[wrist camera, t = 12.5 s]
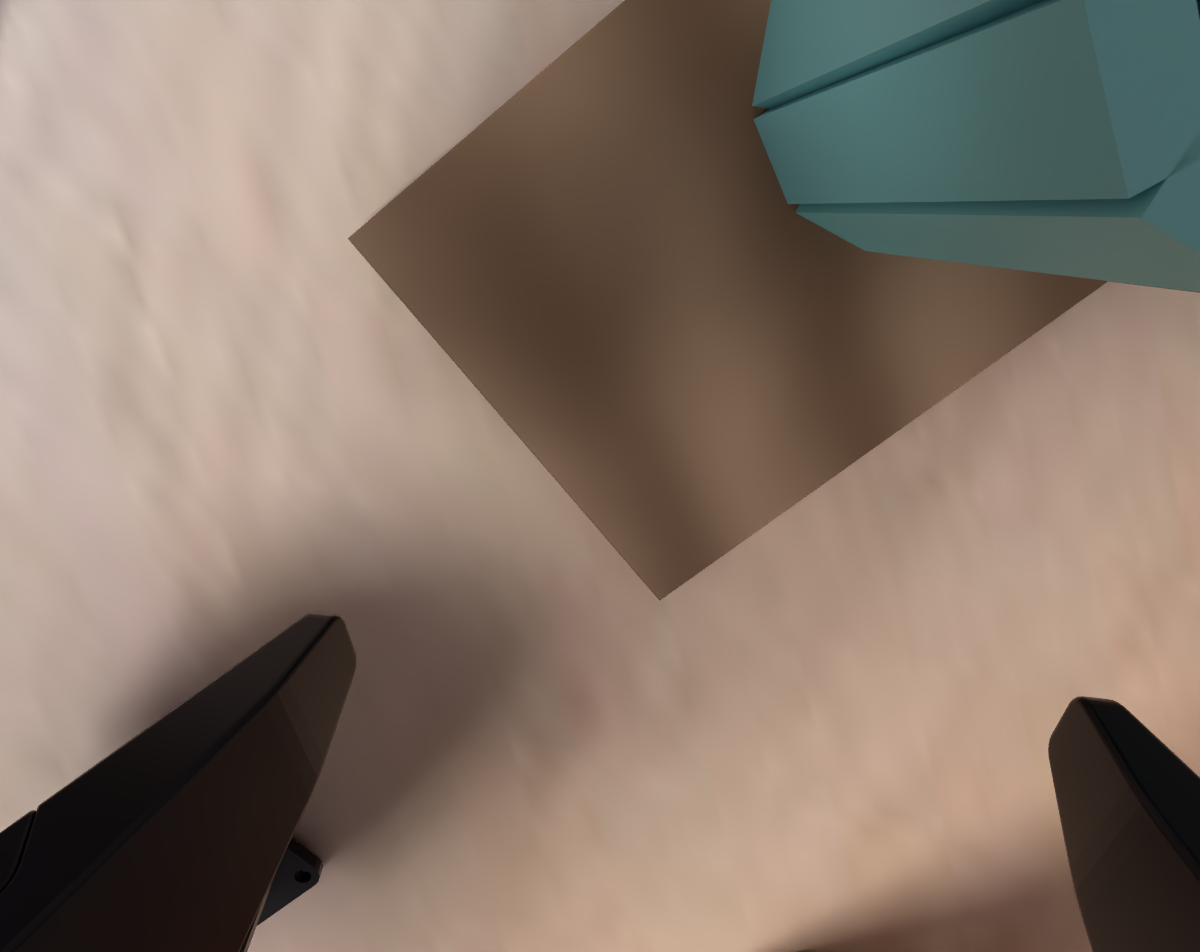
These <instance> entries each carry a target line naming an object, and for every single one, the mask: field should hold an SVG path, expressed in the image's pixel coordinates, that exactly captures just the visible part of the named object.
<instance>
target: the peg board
mask: <svg viewBox="0 0 1200 952" xmlns="http://www.w3.org/2000/svg"><path fill="white" fill-rule="evenodd" d="M771 1H772V0H625V1H624V2H623V3H622V4H620V5H619V6H618V7H617V8H616V9H615V10H613V11H612V12H611V13H610V14H609V15H608V16H606V17H605V18H604V19H603V20H602V21H601V22H599V23H598V24H597V25H596V26H595V27H594V28H592V29H591V30H590V31H589V32H588V33H587V34H585V35H584V36H583V37H582V38H581V39H580V40H578V41H577V42H576V43H575V44H574V45H573V46H571V47H570V48H569V49H568V50H567V51H566V52H564V53H563V54H562V55H561V56H560V57H559V58H557V59H556V60H555V61H554V62H553V63H552V64H551V65H549V66H548V67H547V68H546V69H545V70H544V71H542V72H541V73H540V74H539V75H538V76H537V77H535V78H534V79H533V80H532V81H531V82H530V83H528V84H527V85H526V86H525V87H524V88H523V89H521V90H520V91H519V92H518V93H517V94H516V95H514V96H513V97H512V98H511V99H510V100H509V101H507V102H506V103H505V104H504V105H503V106H502V107H500V108H499V109H498V110H497V111H496V112H495V113H493V114H492V115H491V116H490V117H489V118H488V119H486V120H485V121H484V122H483V123H482V124H481V125H480V126H478V127H477V128H476V129H475V130H474V131H473V132H471V133H470V134H469V135H468V136H467V137H466V138H464V139H463V140H462V141H461V142H460V143H459V144H457V145H456V146H455V147H454V148H453V149H452V150H450V151H449V152H448V153H447V154H446V155H445V156H443V157H442V158H441V159H440V160H439V161H438V162H436V163H435V164H434V165H433V166H432V167H431V168H429V169H428V170H427V171H426V172H425V173H424V174H422V175H421V176H420V177H419V178H418V179H417V180H415V181H414V182H413V183H412V184H411V185H410V186H408V187H407V188H406V189H405V190H404V191H403V192H402V193H400V194H399V195H398V196H397V197H396V198H395V199H393V200H392V201H391V202H390V203H389V204H388V205H386V206H385V207H384V208H383V209H382V210H381V211H379V212H378V213H377V214H376V215H375V216H374V217H372V218H371V219H370V220H369V221H368V222H367V223H365V224H364V225H363V226H362V227H361V228H360V229H358V230H357V231H356V232H355V233H354V234H353V235H351V236H350V237H349V238H348V239H349V240H350V242H351V243H352V244H353V245H354V246H355V247H356V249H357V250H358V251H359V252H360V253H361V254H362V256H363V257H364V258H365V259H366V260H367V261H368V262H369V264H370V265H371V266H372V267H373V268H374V269H375V271H376V272H377V273H378V274H379V275H380V276H381V278H382V279H383V280H384V281H385V282H386V283H387V285H388V286H389V287H390V288H391V289H392V290H393V292H394V293H395V294H396V295H397V296H398V297H399V298H400V300H401V301H402V302H403V303H404V304H405V305H406V307H407V308H408V309H409V310H410V311H411V312H412V314H413V315H414V316H415V317H416V318H417V319H418V321H419V322H420V323H421V324H422V325H423V326H424V328H425V329H426V330H427V331H428V332H429V333H430V334H431V336H432V337H433V338H434V339H435V340H436V341H437V343H438V344H439V345H440V346H441V347H442V348H443V350H444V351H445V352H446V353H447V354H448V355H449V357H450V358H451V359H452V360H453V361H454V362H455V364H456V365H457V366H458V367H459V368H460V369H461V370H462V372H463V373H464V374H465V375H466V376H467V377H468V379H469V380H470V381H471V382H472V383H473V384H474V386H475V387H476V388H477V389H478V390H479V391H480V393H481V394H482V395H483V396H484V397H485V398H486V400H487V401H488V402H489V403H490V404H491V405H492V406H493V408H494V409H495V410H496V411H497V412H498V413H499V415H500V416H501V417H502V418H503V419H504V420H505V422H506V423H507V424H508V425H509V426H510V427H511V429H512V430H513V431H514V432H515V433H516V434H517V436H518V437H519V438H520V439H521V440H522V441H523V442H524V444H525V445H526V446H527V447H528V448H529V449H530V451H531V452H532V453H533V454H534V455H535V456H536V458H537V459H538V460H539V461H540V462H541V463H542V465H543V466H544V467H545V468H546V469H547V470H548V472H549V473H550V474H551V475H552V476H553V477H554V478H555V480H556V481H557V482H558V483H559V484H560V485H561V487H562V488H563V489H564V490H565V491H566V492H567V494H568V495H569V496H570V497H571V498H572V499H573V501H574V502H575V503H576V504H577V505H578V506H579V508H580V509H581V510H582V511H583V512H584V513H585V514H586V516H587V517H588V518H589V519H590V520H591V521H592V523H593V524H594V525H595V526H596V527H597V528H598V530H599V531H600V532H601V533H602V534H603V535H604V537H605V538H606V539H607V540H608V541H609V542H610V544H611V545H612V546H613V547H614V548H615V549H616V551H617V552H618V553H619V554H620V555H621V556H622V557H623V559H624V560H625V561H626V562H627V563H628V564H629V566H630V567H631V568H632V569H633V570H634V571H635V573H636V574H637V575H638V576H639V577H640V578H641V580H642V581H643V582H644V583H645V584H646V585H647V587H648V588H649V589H650V590H651V591H652V592H653V593H654V595H655V596H656V597H657V598H658V599H659V600H661V599H662V598H664V597H665V596H667V595H668V594H670V593H671V592H672V591H674V590H675V589H677V588H678V587H679V586H681V585H682V584H684V583H685V582H686V581H688V580H689V579H691V578H692V577H693V576H695V575H696V574H698V573H699V572H700V571H702V570H703V569H705V568H706V567H707V566H709V565H710V564H712V563H713V562H714V561H716V560H717V559H719V558H720V557H721V556H723V555H724V554H726V553H727V552H728V551H730V550H731V549H733V548H734V547H735V546H737V545H738V544H740V543H741V542H743V541H744V540H745V539H747V538H748V537H750V536H751V535H752V534H754V533H755V532H757V531H758V530H759V529H761V528H762V527H764V526H765V525H766V524H768V523H769V522H771V521H772V520H773V519H775V518H776V517H778V516H779V515H780V514H782V513H783V512H785V511H786V510H787V509H789V508H790V507H792V506H793V505H794V504H796V503H797V502H799V501H800V500H801V499H803V498H804V497H806V496H807V495H809V494H810V493H811V492H813V491H814V490H816V489H817V488H818V487H820V486H821V485H823V484H824V483H825V482H827V481H828V480H830V479H831V478H832V477H834V476H835V475H837V474H838V473H839V472H841V471H842V470H844V469H845V468H846V467H848V466H849V465H851V464H852V463H853V462H855V461H856V460H858V459H859V458H860V457H862V456H863V455H865V454H866V453H867V452H869V451H870V450H872V449H873V448H875V447H876V446H877V445H879V444H880V443H882V442H883V441H884V440H886V439H887V438H889V437H890V436H891V435H893V434H894V433H896V432H897V431H898V430H900V429H901V428H903V427H904V426H905V425H907V424H908V423H910V422H911V421H912V420H914V419H915V418H917V417H918V416H919V415H921V414H922V413H924V412H925V411H926V410H928V409H929V408H931V407H932V406H933V405H935V404H936V403H938V402H939V401H941V400H942V399H943V398H945V397H946V396H948V395H949V394H950V393H952V392H953V391H955V390H956V389H957V388H959V387H960V386H962V385H963V384H964V383H966V382H967V381H969V380H970V379H971V378H973V377H974V376H976V375H977V374H978V373H980V372H981V371H983V370H984V369H985V368H987V367H988V366H990V365H991V364H992V363H994V362H995V361H997V360H998V359H999V358H1001V357H1002V356H1004V355H1005V354H1007V353H1008V352H1009V351H1011V350H1012V349H1014V348H1015V347H1016V346H1018V345H1019V344H1021V343H1022V342H1023V341H1025V340H1026V339H1028V338H1029V337H1030V336H1032V335H1033V334H1035V333H1036V332H1037V331H1039V330H1040V329H1042V328H1043V327H1044V326H1046V325H1047V324H1049V323H1050V322H1051V321H1053V320H1054V319H1056V318H1057V317H1058V316H1060V315H1061V314H1063V313H1064V312H1065V311H1067V310H1068V309H1070V308H1071V307H1073V306H1074V305H1075V304H1077V303H1078V302H1080V301H1081V300H1082V299H1084V298H1085V297H1087V296H1088V295H1089V294H1091V293H1092V292H1094V291H1095V290H1096V289H1098V288H1099V287H1101V286H1102V285H1103V284H1105V283H1106V282H1108V281H1102V280H1094V279H1086V278H1078V277H1070V276H1062V275H1054V274H1046V273H1038V272H1030V271H1022V270H1014V269H1006V268H998V267H990V266H982V265H974V264H965V263H957V262H949V261H941V260H933V259H925V258H917V257H909V256H901V255H893V254H885V253H877V252H870V251H864V250H863V249H861V248H859V247H857V246H855V245H853V244H852V243H850V242H848V241H846V240H844V239H843V238H841V237H839V236H837V235H835V234H833V233H832V232H830V231H828V230H826V229H824V228H823V227H821V226H819V225H817V224H815V223H813V222H812V221H810V220H808V219H806V218H804V217H803V216H801V215H799V214H797V213H795V212H796V210H797V208H798V206H799V204H788V203H787V201H786V198H785V196H784V193H783V191H782V188H781V186H780V184H779V181H778V179H777V176H776V174H775V171H774V169H773V166H772V164H771V161H770V159H769V157H768V154H767V152H766V149H765V147H764V144H763V142H762V139H761V137H760V134H759V132H758V129H757V127H756V125H755V122H754V120H753V119H754V118H756V117H758V116H759V115H761V114H763V113H765V112H766V111H768V110H770V109H767V108H761V107H755V106H752V103H753V98H754V92H755V87H756V81H757V76H758V70H759V65H760V59H761V54H762V48H763V43H764V37H765V32H766V26H767V21H768V15H769V10H770V4H771Z"/></svg>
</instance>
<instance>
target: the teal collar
mask: <svg viewBox="0 0 1200 952" xmlns="http://www.w3.org/2000/svg"><path fill="white" fill-rule="evenodd" d="M752 106H755V107H761V108H767V109H770V110H768V111H766V112H765V113H763V114H761V115H759V116H758V117H756V118H754V119H753V120H754V122H755V125H756V127H757V129H758V132H759V134H760V137H761V139H762V142H763V144H764V147H765V149H766V152H767V154H768V157H769V159H770V161H771V164H772V166H773V169H774V171H775V174H776V176H777V179H778V181H779V184H780V186H781V188H782V191H783V193H784V196H785V198H786V201H787V203H788V204H799V206H798V208H797V210H796V212H795V213H797V214H799V215H801V216H803V217H804V218H806V219H808V220H810V221H812V222H813V223H815V224H817V225H819V226H821V227H823V228H824V229H826V230H828V231H830V232H832V233H833V234H835V235H837V236H839V237H841V238H843V239H844V240H846V241H848V242H850V243H852V244H853V245H855V246H857V247H859V248H861V249H863V250H864V251H870V252H877V253H885V254H893V255H901V256H909V257H917V258H925V259H933V260H941V261H949V262H957V263H965V264H974V265H982V266H990V267H998V268H1006V269H1014V270H1022V271H1030V272H1038V273H1046V274H1054V275H1062V276H1070V277H1078V278H1086V279H1094V280H1102V281H1110V282H1118V283H1126V284H1135V285H1143V286H1151V287H1159V288H1167V289H1175V290H1183V291H1191V292H1199V293H1200V0H772V1H771V4H770V10H769V15H768V21H767V26H766V32H765V37H764V43H763V48H762V54H761V59H760V65H759V70H758V76H757V81H756V87H755V92H754V98H753V103H752Z"/></svg>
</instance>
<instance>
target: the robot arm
mask: <svg viewBox="0 0 1200 952" xmlns="http://www.w3.org/2000/svg"><path fill="white" fill-rule="evenodd" d="M355 668H356V654H355V651H354V648H353V645H352V642H351V639H350V636H349V633H348V631H347V628H346V625H345V622H344V620H343V619H342V618H341V617H340V616H339V615H336V614H327V613H318V612H314V613H310V614H307V615H305V616H304V617H302V618H301V619H299V620H298V621H297V622H295V623H294V624H292V625H291V626H290V627H288V628H287V629H285V630H284V631H283V632H281V633H280V634H278V635H277V636H276V637H274V638H273V639H271V640H270V641H269V642H267V643H266V644H264V645H263V646H262V647H260V648H259V649H257V650H256V651H255V652H253V653H252V654H250V655H249V656H248V657H246V658H245V659H243V660H242V661H241V662H239V663H238V664H236V665H235V666H234V667H232V668H231V669H229V670H228V671H227V672H225V673H224V674H222V675H221V676H219V677H218V678H217V679H215V680H214V681H212V682H211V683H210V684H208V685H207V686H205V687H204V688H203V689H201V690H200V691H198V692H197V693H196V694H194V695H193V696H191V697H190V698H189V699H187V700H186V701H184V702H183V703H182V704H180V705H179V706H177V707H176V708H175V709H173V710H172V711H170V712H169V713H168V714H166V715H165V716H163V717H162V718H161V719H159V720H158V721H156V722H155V723H154V724H152V725H151V726H149V727H148V728H147V729H145V730H144V731H142V732H141V733H140V734H138V735H137V736H135V737H134V738H133V739H131V740H130V741H128V742H127V743H126V744H124V745H123V746H121V747H120V748H119V749H117V750H116V751H114V752H113V753H112V754H110V755H109V756H107V757H106V758H105V759H103V760H102V761H100V762H99V763H97V764H96V765H95V766H93V767H92V768H90V769H89V770H88V771H86V772H85V773H83V774H82V775H81V776H79V777H78V778H76V779H75V780H74V781H72V782H71V783H69V784H68V785H67V786H65V787H64V788H62V789H61V790H60V791H58V792H57V793H55V794H54V795H53V796H51V797H50V798H48V799H47V800H46V801H44V802H43V803H41V804H40V805H39V806H38V808H37V811H35V810H33V811H30V812H28V813H27V814H26V815H24V816H23V817H21V818H20V819H19V820H17V821H16V822H14V823H13V824H12V825H10V826H9V827H7V828H6V829H5V830H3V831H2V832H0V952H247V950H248V948H249V945H250V942H251V939H252V937H253V934H254V931H255V929H256V926H257V925H259V924H260V923H262V922H263V921H264V920H266V919H267V918H269V917H270V916H272V915H273V914H274V913H276V912H277V911H279V910H280V909H282V908H283V907H284V906H286V905H287V904H289V903H290V902H291V901H293V900H294V899H296V898H297V897H299V896H300V895H301V894H303V893H304V892H306V891H307V890H309V889H310V888H311V887H313V886H314V885H315V884H316V883H317V882H318V881H319V877H320V874H321V871H322V867H323V864H322V861H321V860H320V859H319V858H318V857H317V856H316V855H314V854H313V853H312V852H310V851H309V850H308V849H306V848H305V847H304V846H302V845H301V844H300V843H298V842H297V841H296V840H294V839H293V838H292V836H293V833H294V831H295V829H296V827H297V825H298V822H299V820H300V818H301V816H302V814H303V812H304V809H305V807H306V805H307V803H308V801H309V799H310V796H311V794H312V792H313V789H314V787H315V785H316V782H317V780H318V778H319V775H320V772H321V770H322V767H323V764H324V761H325V758H326V756H327V753H328V750H329V747H330V744H331V741H332V738H333V735H334V732H335V729H336V726H337V723H338V720H339V717H340V714H341V711H342V708H343V705H344V702H345V699H346V697H347V694H348V691H349V688H350V685H351V682H352V679H353V676H354V673H355ZM1048 753H1049V761H1050V766H1051V772H1052V777H1053V782H1054V788H1055V793H1056V798H1057V803H1058V809H1059V814H1060V819H1061V825H1062V830H1063V835H1064V841H1065V846H1066V851H1067V856H1068V862H1069V867H1070V872H1071V876H1072V881H1073V885H1074V890H1075V894H1076V897H1077V901H1078V904H1079V908H1080V912H1081V915H1082V918H1083V922H1084V925H1085V928H1086V931H1087V935H1088V938H1089V941H1090V945H1091V948H1092V951H1093V952H1200V777H1199V776H1198V775H1197V774H1195V773H1194V772H1193V771H1192V770H1191V769H1190V768H1189V767H1188V766H1187V765H1186V764H1185V763H1184V762H1183V761H1182V760H1181V759H1179V758H1178V757H1177V756H1176V755H1175V754H1174V753H1173V752H1172V751H1171V750H1170V749H1169V748H1168V747H1167V746H1166V745H1164V744H1163V743H1162V742H1161V741H1160V740H1159V739H1158V738H1157V737H1156V736H1155V735H1154V734H1153V733H1152V732H1151V731H1150V730H1148V729H1147V728H1146V727H1145V726H1144V725H1143V724H1142V723H1141V722H1140V721H1139V720H1138V719H1137V718H1136V717H1135V716H1134V715H1132V714H1131V713H1130V712H1129V711H1128V710H1127V709H1126V708H1125V707H1124V706H1122V705H1121V704H1119V703H1118V702H1116V701H1114V700H1109V699H1102V698H1093V697H1083V696H1081V697H1077V698H1075V699H1073V700H1072V701H1071V702H1070V703H1069V705H1068V707H1067V709H1066V710H1065V712H1064V714H1063V716H1062V717H1061V719H1060V721H1059V723H1058V724H1057V726H1056V728H1055V730H1054V731H1053V733H1052V735H1051V737H1050V741H1049V747H1048ZM304 871H307V872H304Z"/></svg>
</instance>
